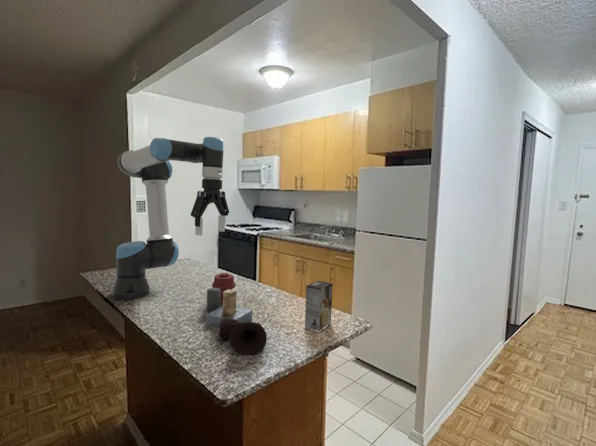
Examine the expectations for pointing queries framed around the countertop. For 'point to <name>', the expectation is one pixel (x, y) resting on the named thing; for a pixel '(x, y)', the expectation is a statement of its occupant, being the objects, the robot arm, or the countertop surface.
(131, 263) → the robot arm
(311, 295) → the coffee box
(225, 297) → the oak peg
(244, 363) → the countertop surface
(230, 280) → the mechanical component
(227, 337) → the pipe
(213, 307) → the gray capsule
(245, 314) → the socket block
